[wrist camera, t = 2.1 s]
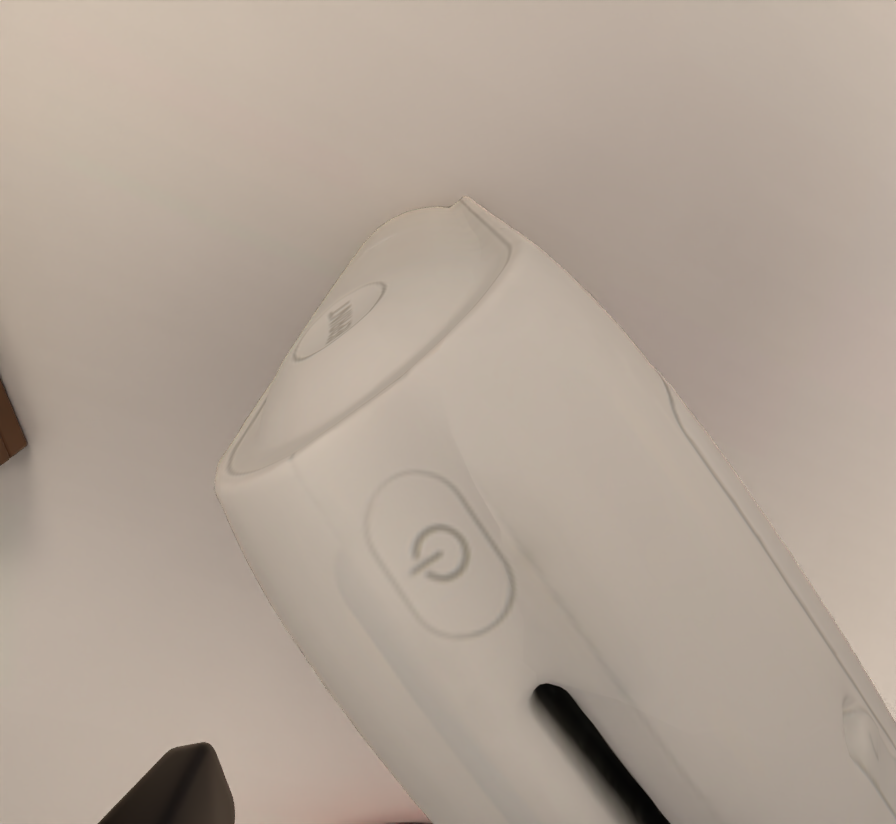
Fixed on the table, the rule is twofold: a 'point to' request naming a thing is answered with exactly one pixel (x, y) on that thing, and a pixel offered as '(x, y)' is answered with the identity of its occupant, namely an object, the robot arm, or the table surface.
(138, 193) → the table surface
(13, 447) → the tray
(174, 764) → the robot arm
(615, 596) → the photo printer
